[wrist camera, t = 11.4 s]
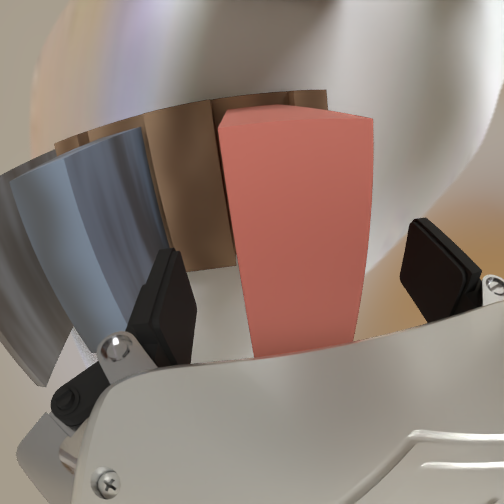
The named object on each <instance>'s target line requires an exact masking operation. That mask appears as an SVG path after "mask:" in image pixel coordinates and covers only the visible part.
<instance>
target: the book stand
mask: <svg viewBox="0 0 504 504" xmlns="http://www.w3.org/2000/svg"><path fill="white" fill-rule="evenodd" d="M276 104H280V105H290V106H299V107H308V108H315V109H322V110H328V105H327V93H326V90H297V91H286V92H272V93H260V94H250V95H241V96H233V97H226V98H219V99H213V100H204V101H198V102H193V103H188V104H183V105H178V106H173V107H169V108H164V109H160V110H156V111H152V112H148V113H144V114H142V115H138V116H134V117H131V118H127V119H124V120H121V121H117V122H114V123H111V124H108V125H105V126H101V127H98V128H96V129H93V130H90V131H87V132H84V133H81V134H78V135H75V136H72V137H70V138H67V139H65V140H62V141H60V142H57V143H55V144H54V146H55V150H52V151H50V152H48V153H45V154H43V155H41V156H39V157H36V158H34V159H32V160H30V161H28V162H26V163H24V164H22V165H20V166H18V167H16V168H14V169H12V170H10V171H8V172H6V173H4V174H2V175H0V342H1V343H2V344H3V345H4V347H5V348H6V349H7V351H8V352H9V353H10V355H11V356H12V357H13V358H14V360H15V361H16V362H17V363H18V365H19V366H20V367H21V368H22V369H23V371H24V372H25V373H26V374H27V375H28V376H29V377H30V379H31V380H32V381H33V382H34V383H35V384H36V385H37V386H41V387H46V386H47V383H48V381H49V378H50V376H51V374H52V371H53V369H54V367H55V364H56V362H57V360H58V358H59V355H60V353H61V351H62V349H63V347H64V344H65V342H66V340H67V338H68V336H69V334H70V332H71V330H72V328H73V326H74V327H75V329H76V330H77V332H78V333H79V335H80V336H81V338H82V339H83V341H84V343H85V344H86V346H87V347H88V348H89V350H90V351H91V353H97V348H98V346H99V344H100V343H101V341H102V340H103V339H104V338H106V337H107V336H108V335H110V334H112V333H115V332H119V331H125V330H126V327H127V324H128V322H129V319H130V316H131V313H132V310H133V308H134V305H135V302H136V300H137V297H138V295H139V292H140V289H141V287H142V285H144V284H146V282H147V279H148V276H149V274H150V271H151V269H152V266H153V264H154V261H155V259H156V256H157V254H158V252H159V250H160V249H167V248H175V250H176V251H180V252H181V255H182V259H183V262H184V266H185V269H186V272H191V271H199V270H206V269H214V268H222V267H229V266H236V254H237V252H236V246H235V240H234V233H233V227H232V221H231V214H230V208H229V201H228V195H227V188H226V182H225V175H224V168H223V161H222V155H221V148H220V141H219V134H218V127H219V125H220V123H221V121H222V119H223V117H224V115H225V113H226V111H227V110H228V109H236V108H244V107H253V106H263V105H276Z"/></svg>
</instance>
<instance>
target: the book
mask: <svg viewBox="0 0 504 504" xmlns="http://www.w3.org/2000/svg"><path fill="white" fill-rule="evenodd" d="M218 134H219V141H220V148H221V155H222V161H223V168H224V175H225V182H226V188H227V195H228V201H229V208H230V214H231V221H232V227H233V233H234V240H235V246H236V252H237V259H238V265H239V271H240V277H241V283H242V289H243V295H244V301H245V307H246V313H247V319H248V325H249V330H250V336H251V342H252V348H253V353H254V357H263V356H271V355H278V354H285V353H292V352H298V351H305V350H311V349H317V348H322V347H328V346H333V345H338V344H344V343H349V342H353V338H354V334H355V329H356V324H357V318H358V313H359V307H360V301H361V295H362V288H363V281H364V275H365V267H366V259H367V250H368V241H369V230H370V219H371V205H372V186H373V119H371V118H367V117H362V116H357V115H352V114H346V113H341V112H335V111H329V110H322V109H315V108H308V107H299V106H290V105H280V104H276V105H263V106H253V107H244V108H236V109H228V110H227V111H226V113H225V115H224V117H223V119H222V121H221V123H220V125H219V127H218Z"/></svg>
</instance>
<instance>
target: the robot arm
mask: <svg viewBox="0 0 504 504" xmlns="http://www.w3.org/2000/svg"><path fill="white" fill-rule="evenodd" d="M481 273H482V270H481V269H480V268H479V267H478V266H477V265H476V264H475V263H474V262H473V261H472V260H471V259H470V258H469V257H468V256H467V255H466V254H465V253H464V252H463V251H462V250H461V249H460V248H459V247H458V246H457V245H456V244H455V243H454V242H453V241H452V240H451V239H450V238H448V237H447V236H446V235H445V234H444V233H443V232H442V231H441V230H440V229H439V228H437V227H436V226H435V225H434V224H433V223H432V222H431V221H429V220H428V219H427V218H417V219H414V220H413V221H412V223H410V225H409V229H408V237H407V242H406V247H405V253H404V258H403V262H402V267H401V272H400V281H401V283H402V285H403V286H404V288H405V289H406V290H407V292H408V293H409V295H410V296H411V298H412V299H413V301H414V302H415V304H416V305H417V307H418V308H419V310H420V312H421V313H422V315H423V316H424V318H425V319H426V321H427V324H423V325H420V326H416V327H413V328H409V329H405V330H401V331H397V332H393V333H389V334H385V335H380V336H376V337H372V338H367V339H363V340H358V341H353V342H349V343H344V344H338V345H333V346H328V347H322V348H317V349H311V350H305V351H298V352H292V353H285V354H278V355H271V356H263V357H254V358H245V359H236V360H226V361H215V362H205V363H194V364H190V363H191V354H192V346H193V337H194V329H195V322H196V314H197V306H196V302H195V299H194V296H193V292H192V289H191V286H190V283H189V279H188V276H187V273H186V269H185V266H184V262H183V259H182V255H181V252H180V251H176V250H175V248H167V249H160V250H159V252H158V254H157V256H156V259H155V261H154V264H153V266H152V269H151V271H150V274H149V276H148V279H147V282H146V284H144V285H142V287H141V289H140V292H139V295H138V297H137V300H136V302H135V305H134V308H133V310H132V313H131V316H130V319H129V322H128V324H127V327H126V330H125V331H119V332H115V333H112V334H110V335H108V336H107V337H106V338H104V339H103V340H102V341H101V343H100V344H99V346H98V348H97V353H96V355H97V359H98V362H96V363H95V364H93V365H92V366H90V367H89V368H87V369H86V370H85V371H83V372H82V373H80V374H79V375H77V376H76V377H75V378H73V379H72V380H70V381H69V382H68V383H66V384H64V385H63V386H61V387H60V388H59V389H58V390H57V391H56V392H55V394H54V395H53V397H52V400H51V410H52V411H51V412H50V413H49V414H48V413H46V412H45V413H44V415H43V416H42V417H41V418H40V419H39V421H38V422H37V423H36V424H35V425H34V427H33V428H32V429H31V430H30V431H29V433H28V434H27V435H26V436H25V438H24V439H23V440H22V441H21V442H20V444H19V446H18V448H17V452H16V456H17V461H18V463H19V465H20V466H21V468H22V469H23V470H24V472H25V473H26V475H27V476H28V477H29V479H30V480H31V481H32V482H33V484H34V485H35V486H36V488H37V489H38V490H39V492H40V493H41V494H42V495H43V497H44V498H45V499H46V500H47V501H48V502H49V503H50V504H504V280H503V279H502V278H500V277H498V276H495V275H487V276H485V277H484V278H483V279H482V281H481V280H480V275H481Z"/></svg>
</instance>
